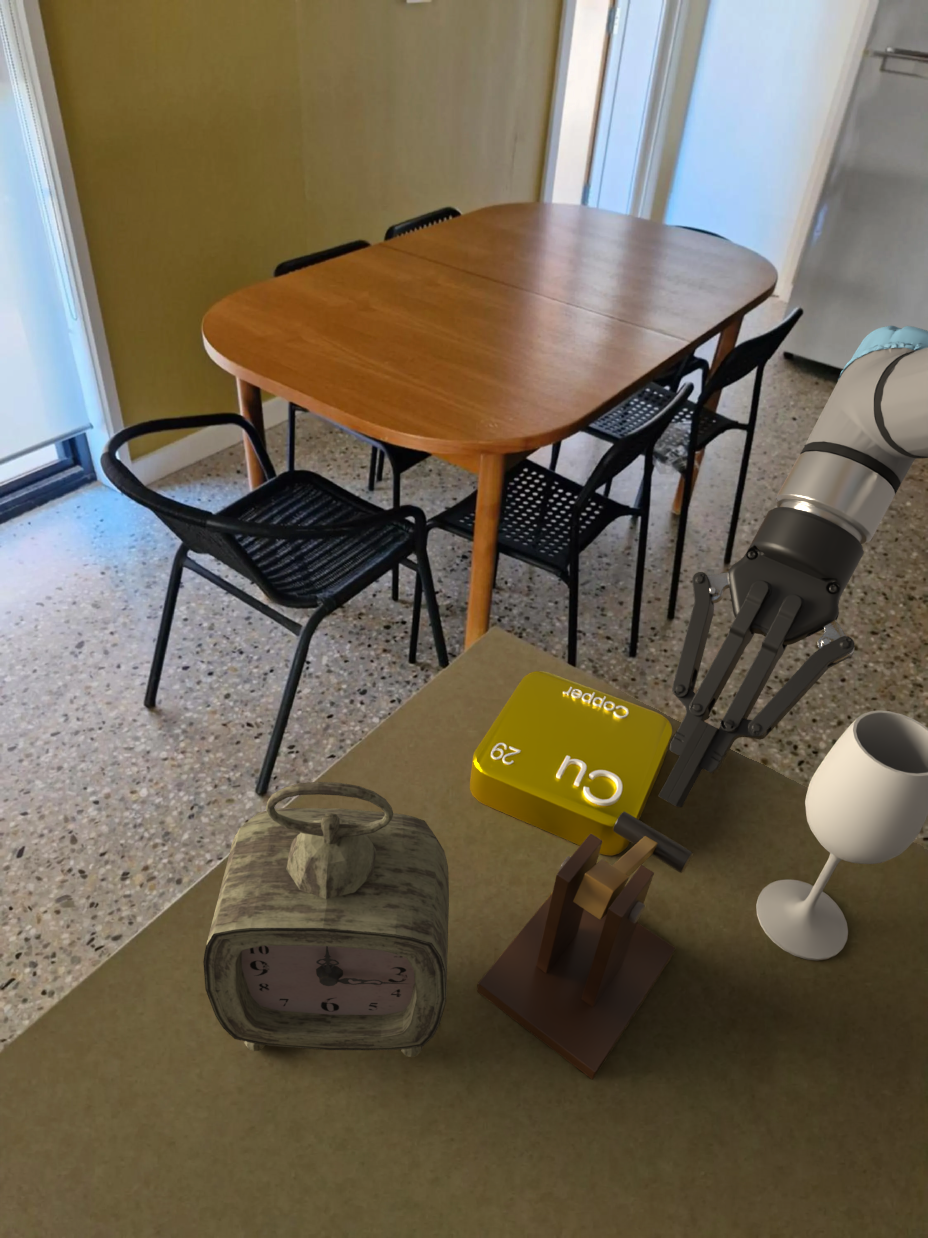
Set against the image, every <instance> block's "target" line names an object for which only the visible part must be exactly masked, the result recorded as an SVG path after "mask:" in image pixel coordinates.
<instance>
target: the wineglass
mask: <svg viewBox="0 0 928 1238" xmlns="http://www.w3.org/2000/svg"><path fill="white" fill-rule="evenodd" d="M804 800H805V801H804V805H805V814H806V821H807V824H808V827H809V828H810V830H811V832H812V834H813V835H814V837H815V838H816V840H817V841H818V842H819V844H820V845H821V846H822V847H823V848H824V849H825V850H826V851H827V852H828V853H829V856H828V859H827V860H826V862H825V865H824V866H823V868H822V870H821V872H820V873H819V875H818V877H817V879H816V881H815V883H814V885H812V884H810V883H808V882H805V881H802V880H798V879H779V880H776V881H773V882H769V884H767V885H766V886H765V887H763V888H762V890H761V891H760V893H759V895H758V897H757V901H756V906H755V907H756V909H755V910H756V917H757V920H758V923H759V925H760V926H761V929H762V931H764V934H766V936H767V937H768V938H769V939H770V940H771V941H772V942H773V943H774V944H775V945H776V946H777V947H779V948H780V949H781V950H783V951H784V952H786V953H788V954H789V955H792V956H794V957H797V958H800V959H802V960H803V959H804V960H807V961H825V960H829V959H831V958H834V957H835V956H837V955H838V954H839V953H840V952H841V951H842V950H843V949H844V947H845V945H846V943H847V941H848V935H849V928H848V923H847V922H848V921H847V920H846V917H845V915H844V913H843V910H841V908H840V907H839V905H838V904H837V903H836V902H835V900H833V898H831V896H829V894H827V893H825V891H824V889H825V887H826V886H827V884H828V883H829V881H830V879H831V877H832V875H833V873H834V871H835V869H836V868H837V866H838V865H839V863H840V862H841V861H842V860H843V861H845V862H849V863H851V864H861V865H875V864H883V863H886V862H888V861H889V860H892V859H894V858H896V857H898V856H900V855H902V854H903V853H904V852H905V851H906V850H907V849H909V847H910V846H911V845H912V844H913V843H914V842H915V840H916V838H917V837H918V836H919V834H920V833H921V830H922V829H923V826H924V825H925V823H926V820H927V818H928V727H927V726H925V725H924V724H923V723H921V722H920V721H919V720H917V719H914V718H912V717H910V716H907V715H905V714H903V713H899V712H895V711H891V710H880V709H879V710H870V711H866V712H865V713H862V714H861V715H859V716H858V717H856V718H855V720H854V721H852V723H851V724H849V726H848V727H847V728H846V729H845V731H844V732H843V733H842V734H841V735H840V736H839V738H838V739H837V740H836V741H835V743H834V744H833V746H832V747H831V749H830V750H829V751H828V752H827V754H826V756H825V757H824V758H823V759H822V761H821V763H820V764H819V766H818V767H817V769H816V770H815V772H814V773H813V775H812V777H811V779H810V782H809V785H808V787H807V792H806V796H805V799H804Z"/></svg>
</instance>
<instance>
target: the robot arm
mask: <svg viewBox="0 0 928 1238" xmlns="http://www.w3.org/2000/svg"><path fill="white" fill-rule="evenodd" d="M918 459H928V330H926V329H923V328H920V327H916V326H911V325H906V326H903V327H902V328H901V327H898V326H896V325H888V326H887V325H886V326H882V327H878V328H876V329H874V330H872V331H871V332H869V333H868V334H867V335H866V336H865V337H864V338H863V339H862V341H861V343H860V344H859V346H858V347H857V349H856V350H855V352H854V353H853V355H852V357H851V358H850V359H849V360H848V362H846V364H845V365H844V367H843V369H842V370H841V372H840V374H839V376H838V378H837V382H836V384H835V386H834V388H833V390H832V392H831V394H830V396H829V398H828V400H827V401H826V404H825V405H824V407H823V409H822V411H821V413H820V415H819V417H818V419H817V421H816V423H815V424H814V426H813V428H812V430H811V432H810V434H809V436H808V439H807V440H806V442H805V444H804V445H803V447H802V449H801V452H800V453H799V455H798V457H797V458H796V459H795V461H794V464H793V465H792V466H791V469H790V470H789V472H788V474H787V476H786V478H785V480H784V481H783V483H782V485H781V487H780V489H779V491H778V492H777V494H776V495H775V499H774V501H775V504H776V507H774V508H773V509H769V510H768V512H767V514H766V515H765V517H764V519H763V521H762V523H761V524H760V526H759V528H758V530H757V531H756V533H755V535H754V537H753V539H752V541H751V543H750V545H749V546H748V548H747V550H746V552H745V554H744V555H743V556H742V557H741V558H740V559H739V560H738V561H737V562H734V563H733V564H732V565H731V567H730V568H729V569H728V571H727V572H721V573H714V574H707V573H705V572H703V571H697V572H696V573H694V574H693V575H692V578H691V579H692V580H691V583H692V590H693V591H692V592H693V601H694V603H693V606H692V609H691V613H690V617H689V621H688V624H687V627H686V628H687V629H686V633H685V636H684V640H683V643H682V647H681V651H680V655H679V659H678V663H677V667H676V671H675V674H674V678H673V681H672V686H671V691H672V694H673V696H675V697H676V698H677V699H678V701H680V703H682V705H683V706H684V709H685V715H684V716H683V719H682V721H681V722H680V724H679V727H678V728H677V730H676V731H675V734H674V735H673V737H672V738H671V739H672V740H670V742H669V751H670V752H672V753H673V754H675V755H677V756H678V758H677V760H676V762H675V764H674V766H673V767H672V770H671V771H670V773H669V775H668V777H667V778H666V780H665V782H664V784H663V786H662V788H661V790H660V791H659V793H658V795H657V796H658V797H659V798H660V799H662V800H663V801H665V802H667V803H669V804H671V805H673V806H674V807H676V808H677V807H678V808H683V806H684V804H685V802H686V801H687V799H688V797H689V795H690V793H691V791H692V790H693V788H694V786H695V784H696V782H697V781H698V778H699V776H700V775H701V773H702V771H703V770H705V771H706V772H708V773H710V774H712V775H714V774H715V773H717V772H718V771H719V770H720V769H721V767H722V765H723V763H724V761H725V759H726V757H727V755H728V754H729V752H730V750H731V748H732V746H733V744H734V743H735V741H737V739H739V738H748V739H755V740H758V741H759V740H764V739H765V738H766V737H767V736H768V735H769V734H770V733H771V732H772V731H773V730H774V729H775V728H776V726H777V725H778V724H779V723H780V722H782V720H783V719H784V718H785V717H786V716H787V715H788V713H789V712H790V711H791V710H792V709H793V708H794V707H795V706H796V704H798V703H799V701H800V700H801V699H802V698H803V697H804V696H805V695H806V694H807V692H809V691H810V690H811V688H812V687H813V686H814V685H815V684H816V683H817V682H818V680H820V679H821V677H822V676H823V675H824V674H825V673H826V672H827V671H828V670H829V669H830V668H832V667H834V666H836V665H838V664H840V663H842V662H844V661H845V660H846V661H847V660H848V659H850V658H851V657H852V656H853V655H854V653H855V640H854V639H853V638H852V637H850V636H848V635H847V634H846V633H845V631H844V630H843V628H842V627H841V625H840V624H839V622H838V621H837V620H838V618H839V616H840V608H839V607H840V605H839V604H840V600H841V597H842V595H843V593H844V592H845V589H846V587H847V586H848V583H849V582H850V580H851V578H852V577H853V575H854V572H855V571H856V569H857V567H858V565H859V563H860V562H861V560H862V558H863V556H864V554H865V552H864V547H863V544H867V543H869V542H871V541H872V539H873V537H874V535H875V533H876V532H877V530H878V528H879V527H880V524H881V522H882V520H883V518H884V517H885V515H886V513H887V511H888V510H889V507H890V505H891V503H892V501H893V500H894V498H895V496H896V494H897V493H898V491H899V488H901V485H902V483H903V481H904V479H905V477H906V476H907V474H908V473H909V470H910V468H911V467H912V465H913V463H914V462H915V460H918ZM727 589H728V590H729V595H730V601H731V606H732V614H733V616H734V620H733V621H732V623H731V625H730V628H729V631H728V633H727V635H726V637H725V639H724V641H723V643H722V644H721V646H720V648H719V650H718V652H717V653H716V655H715V658H714V659H713V661H712V662H711V664H710V666H709V669H708V670H707V671H706V674H705V676H704V678H703V679H702V681H701V683H700V685H699V687H698V689H697V691H696V692H695V691H694V690H695V688H696V683H697V680H698V675H699V672H700V668H701V664H702V660H703V657H704V652H705V648H706V645H707V640H708V638H709V632H710V630H711V625H712V621H713V618H714V613H715V604H716V603H719V602H721V601H722V600H723V597H724V593H725V591H726V590H727ZM821 631H823V634H822V636H820V638H818V640H817V650H816V651H815V652H813V653H812V655H810V656H809V658H808V659H806V660H805V662H804V663H803V664H802V665H801V666H800V667H799V668H798V670H796V671H795V672H794V674H793V675H792V676H791V677H790V678H789V679H788V680H787V681H786V682H785V684H784V685H783V686H782V687H781V688H780V689H779V690H778V691H777V692H776V693H775V695H774V696H772V698H771V699H770V700H769V701H768V702H767V703H766V704H765V705H764V707H762V709H760V711H759V712H758V713H757V714H756V715H755V716H754V718H753V719H748V718H749V717H750V714H751V713H752V711H753V709H754V707H755V705H756V703H757V701H758V699H759V698H760V696H761V694H762V692H763V690H764V688H765V686H766V685H767V683H768V681H769V679H770V677H771V676H772V673H773V671H774V670H775V668H776V666H777V664H778V662H779V660H781V658H782V656H783V655H784V653H785V650H786V649H787V648H788V646H790V645H794V644H796V643H798V642H800V641H802V640H804V639H807V638H809V637H810V636H813V635H815V634H817V633H819V632H821ZM756 634H757V635H762V636H764V639H763V640H762V643H761V646H760V648H759V651H757V654H756V656H755V658H754V660H753V661H752V663H751V666H750V667H749V669H748V671H747V673H746V675H745V676H744V678H743V680H742V682H741V684H740V685H739V687H738V689H737V691H736V694H735V695H734V697H733V699H732V700H731V703H730V705H728V708H727V710H726V712H725V714H724V716H723V717H722V719H720V720H719V727H716V726H714V725H712V724H709V723H708V722H706V721H707V720H709V719H710V717H711V716H710V714H711V713H712V711H713V709H714V707H715V705H716V703H717V701H718V700H719V698H720V696H721V694H722V692H723V690H724V688H725V687H726V685H727V684H728V681H729V679H730V678H731V675H732V674H733V672H734V670H735V668H736V666H737V665H738V663H739V662H740V659H741V657H742V655H743V654H744V652H745V650H746V649H747V646H748V645H749V644H750V643H751V641H752V639H753V638H754V636H755V635H756Z"/></svg>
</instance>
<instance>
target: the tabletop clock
mask: <svg viewBox="0 0 928 1238" xmlns="http://www.w3.org/2000/svg"><path fill="white" fill-rule="evenodd" d="M310 795H317V796H318V795H321V796H322V795H323V796H339V797H347V798H353V799H354V798H355V799H356V798H357V799H359V800H363V801H366V802H368V803H371V804H373V805H375V806H376V807H378V808H380V810H382V811H374V810H364V809H351V808H324V807H323V808H321V807H320V808H319V807H280V808H275V807H276V805H277V804H279V802H281V801H283V800H285V799H288V798H292V797H293V798H294V797H297V796H310ZM225 865H226V866H225V870H224V874H223V878H222V882H221V885H220V889H219V894H218V897H217V902H216V906H215V910H214V914H213V917H212V920H211V925H210V929H209V932H208V937H207V941H206V945H205V949H204V953H203V974H204V988H205V992H206V994H207V996H208V1000H209V1002H210V1005H211V1008H212V1011H213V1013H214V1016H215V1017H216V1020H217V1021H218V1022H219V1024H220V1025H221V1028H222V1029H223V1030H224V1031H225V1032H227V1033H228V1034H229V1035H230V1036H231V1038H233V1039H234V1040H238V1041H241V1042H243V1043H244V1045H245V1047H247V1049H248V1050H250V1051H253V1052H257V1051H261V1049H263V1048H265V1046H269V1047H270V1046H271V1047H281V1048H293V1049H308V1050H321V1051H401V1053H402V1054H403V1055H404V1056H406V1057H409V1058H413V1057H418V1055H419V1054H420V1053H421V1052H422V1051H423V1048H424V1047H425V1046H426V1044H428V1043H429V1042H430V1041H431V1040H432V1039H433V1038H434V1036H435V1035H436V1033H437V1031H438V1030H439V1027H440V1025H441V1022H442V1018H443V1015H444V1014H443V1013H444V1011H445V1006H446V1004H447V997H448V995H447V994H448V993H447V992H448V952H449V951H448V950H449V949H448V947H449V913H450V912H449V911H450V910H449V908H450V907H449V905H450V904H449V903H450V887H449V865H448V860H447V857H446V852H445V850H444V848H443V846H442V844H441V843H440V841H439V840H438V837H437V835H435V833H434V832H433V830H432V828H431V827H430V826H429V824H428V823H427V821H426V820H425V819H421V818H418V817H415V816H412V815H407V814H405V813H404V814H403V813H395V812H394V810H393V807H392V805H390V803H389V801H388V800H387V799H386V798H384V797H383V796H382V795H380V794H378V793H377V791H374V790H371V789H368V788H366V787H364V786H360V785H356V784H349V783H343V782H334V781H333V782H330V781H310V782H309V781H307V782H299V783H295V784H290V785H288V786H284V787H283V788H280V789H279V790H277V791H276V792H274V793H272V794H271V795H270V797H269V798H268V800H267V801H266V806H265V810H263V811H260V812H258V813H256V814H255V815H254V816H253V817H251V818H250V819H249V820H248V821H246V822H245V823H244V824H243V825H241V826H240V827H239V828H238V831H237V832H236V834H235V835H234V837H233V839H232V843H231V846H230V850H229V853H228V858H227V862H226V864H225Z"/></svg>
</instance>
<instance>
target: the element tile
mask: <svg viewBox="0 0 928 1238" xmlns="http://www.w3.org/2000/svg"><path fill="white" fill-rule="evenodd" d="M485 733H486V734H485V735H484V736H483V738H482V739H481V741H480V743H479V744H478V746H477V747H476V748H475V750H474V751H473V755H472V763H471V769H470V770H471V771H470V778H469V779H470V780H469V790H470V793H471V796H472V797H473V798H474V799H475V800H477V801H478V802H479V803H480V804H482V805H484V806H486V807H489V808H491V809H494V810H496V811H497V812H498V811H499V812H500V813H503V814H505V815H508V816H510V817H512V818H515V819H517V820H519V821H521V822H524V823H526V824H529V825H531V826H533V827H536V828H538V829H541V831H544V832H547V833H550V834H552V835H554V836H556V837H558V838H561V839H563V840H566V841H568V842H571V843H573V844H575V845H577V846H580V845H581V844H582V843H583V842H584V841H585V839H586V838H587V837H588V836H589V835H590V834H593V835H594V836H596V837H598V838H599V839H601V840H602V845H601V848H600V852H599V855H603V856H616V855H619V854H621V853H622V852H623V851H625V850H626V849H627V847H628V846H629V845H630V843H631V842H630V841H628V840H627V839H625V838H623V837H622V836H620V835H619V834H617V833H615V832H614V831H613V828H614V825H615V823H616V821H617V819H618V817H619V816H620V815H621V814H622V813H623V812H627V813H628V814H630V815H632V816H633V817H635V818H637V819H638V820H640V819H641V816H642V815H643V812H644V810H645V807H646V804H647V802H648V800H649V797H650V795H651V794H652V793H651V792H652V791H653V787H654V786H655V783H656V780H657V778H658V775H659V773H660V771H661V768H662V767H663V764H664V761H665V758H666V755H667V752H668V749H669V747H670V743H671V739H672V735H673V727H672V723H671V722H670V721H669V719H668V718H666V717H665V716H664V715H662V714H661V713H659V712H657V711H654V710H652V709H650V708H646V707H644V706H640V705H638V704H635V703H633V702H630V701H627V700H626V699H622V698H620V697H617V696H614V695H611V694H609V693H606V692H603V691H601V690H597V689H595V688H592V687H590V686H587V685H584V684H582V683H579V682H576V681H573V680H571V679H568V678H565V677H563V676H560V675H557V674H554V673H553V672H549V671H543V670H541V671H540V670H535V671H531V672H529V673H527V674H526V675H524V676H523V677H522V679H521V680H520V681H519V683H518V684H517V686H516V687H515V689H514V691H513V692H512V694H511V696H510V697H509V698H508V700H507V701H506V702H505V704H504V706H503V708H502V709H501V711H500V712H499V713H498V715H497V716H496V718H495V719H494V721H493V722H492V724H491V726H490V727H489V729H488V730H487V732H485Z"/></svg>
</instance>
